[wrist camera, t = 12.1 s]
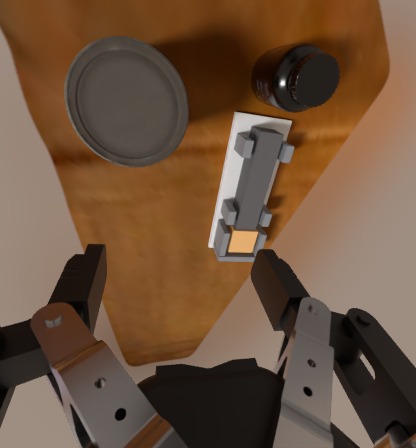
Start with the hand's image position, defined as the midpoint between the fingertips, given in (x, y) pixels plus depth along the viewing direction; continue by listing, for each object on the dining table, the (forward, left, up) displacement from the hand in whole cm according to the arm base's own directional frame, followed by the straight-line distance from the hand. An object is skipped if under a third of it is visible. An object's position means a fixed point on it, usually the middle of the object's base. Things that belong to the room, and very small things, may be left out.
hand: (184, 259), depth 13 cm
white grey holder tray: (+7, +14, -28) cm, 32 cm away
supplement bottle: (-10, +14, -28) cm, 33 cm away
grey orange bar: (+7, +14, -27) cm, 31 cm away
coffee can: (-5, -4, -28) cm, 29 cm away
